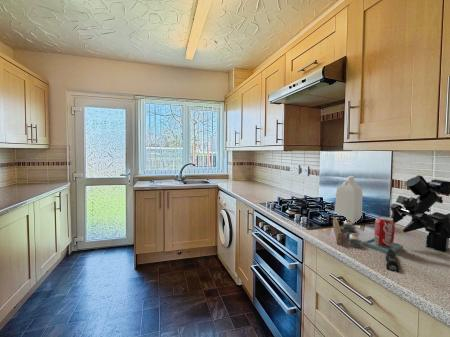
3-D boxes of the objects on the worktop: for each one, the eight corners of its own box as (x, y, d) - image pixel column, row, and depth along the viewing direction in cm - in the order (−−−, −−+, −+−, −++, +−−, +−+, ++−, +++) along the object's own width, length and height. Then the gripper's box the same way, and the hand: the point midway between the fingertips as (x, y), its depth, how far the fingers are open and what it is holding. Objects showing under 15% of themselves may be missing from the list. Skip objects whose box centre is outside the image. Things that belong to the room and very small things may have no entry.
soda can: (396, 246, 105) (398, 219, 104) (387, 249, 102) (389, 221, 101) (379, 241, 111) (381, 215, 110) (370, 243, 108) (372, 217, 107)
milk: (353, 223, 140) (356, 178, 138) (333, 218, 149) (336, 176, 147) (362, 220, 148) (365, 177, 146) (342, 215, 157) (345, 175, 154)
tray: (402, 249, 105) (403, 245, 105) (390, 254, 99) (390, 250, 99) (375, 240, 114) (375, 237, 114) (362, 245, 108) (363, 241, 108)
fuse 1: (352, 228, 130) (352, 220, 130) (349, 230, 128) (350, 221, 128) (345, 227, 133) (345, 218, 133) (342, 228, 131) (342, 220, 130)
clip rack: (352, 227, 133) (352, 218, 132) (361, 247, 105) (362, 236, 105) (332, 225, 136) (333, 216, 136) (337, 244, 109) (337, 233, 108)
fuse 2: (359, 244, 109) (360, 234, 108) (355, 246, 107) (356, 236, 106) (351, 242, 112) (352, 232, 111) (347, 243, 110) (348, 233, 109)
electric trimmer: (396, 257, 98) (396, 249, 97) (399, 273, 84) (399, 264, 84) (384, 255, 100) (385, 247, 99) (386, 270, 86) (386, 261, 86)
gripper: (395, 186, 114) (370, 209, 114) (428, 193, 95) (398, 221, 96) (411, 202, 114) (386, 226, 115) (447, 213, 96) (417, 241, 97)
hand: (395, 228), depth 106 cm, fingers open, 9 cm apart
